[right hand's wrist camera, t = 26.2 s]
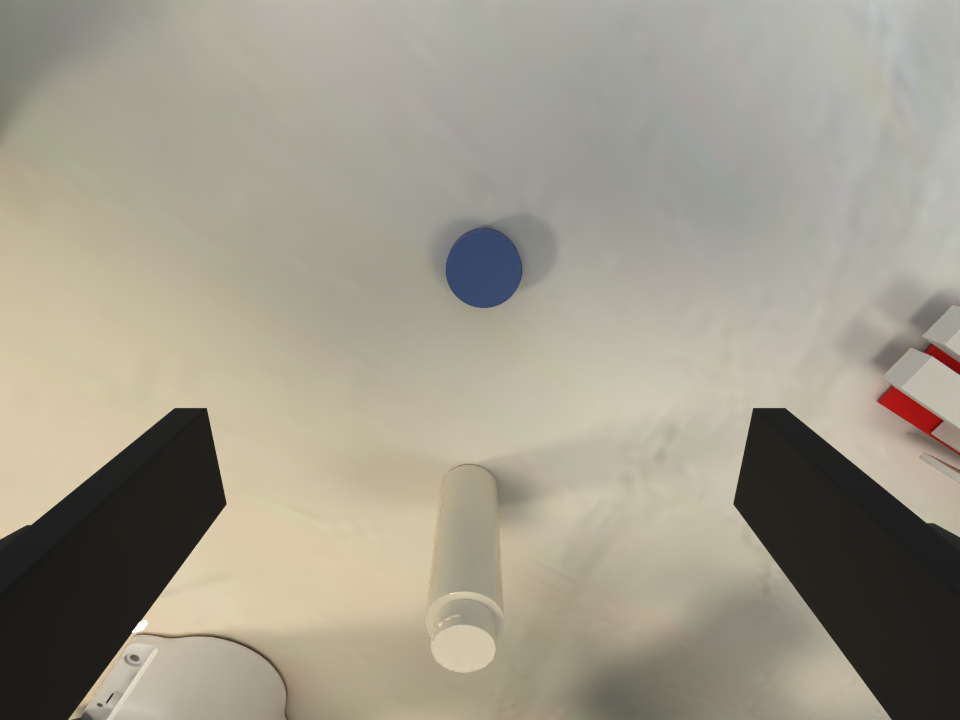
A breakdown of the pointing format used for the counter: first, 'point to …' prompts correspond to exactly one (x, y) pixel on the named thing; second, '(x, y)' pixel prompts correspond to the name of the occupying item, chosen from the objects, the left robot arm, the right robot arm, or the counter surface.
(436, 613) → the cream bottle
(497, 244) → the lid
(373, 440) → the counter surface
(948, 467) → the toy
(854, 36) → the counter surface
